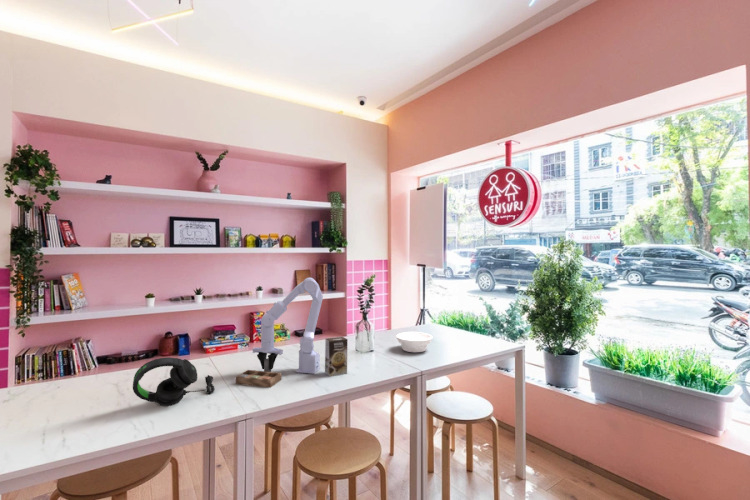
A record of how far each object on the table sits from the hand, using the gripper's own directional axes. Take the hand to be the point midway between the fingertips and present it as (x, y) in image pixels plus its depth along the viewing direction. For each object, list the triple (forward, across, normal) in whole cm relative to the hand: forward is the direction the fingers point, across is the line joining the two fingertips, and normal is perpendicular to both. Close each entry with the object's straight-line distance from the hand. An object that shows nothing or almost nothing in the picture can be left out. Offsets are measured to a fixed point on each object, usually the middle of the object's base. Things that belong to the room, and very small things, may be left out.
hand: (267, 368), depth 161 cm
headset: (+2, +18, +35) cm, 39 cm away
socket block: (+2, -2, +10) cm, 11 cm away
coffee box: (+2, -31, -8) cm, 32 cm away
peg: (+2, 0, 0) cm, 2 cm away
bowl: (+2, -62, -55) cm, 83 cm away
